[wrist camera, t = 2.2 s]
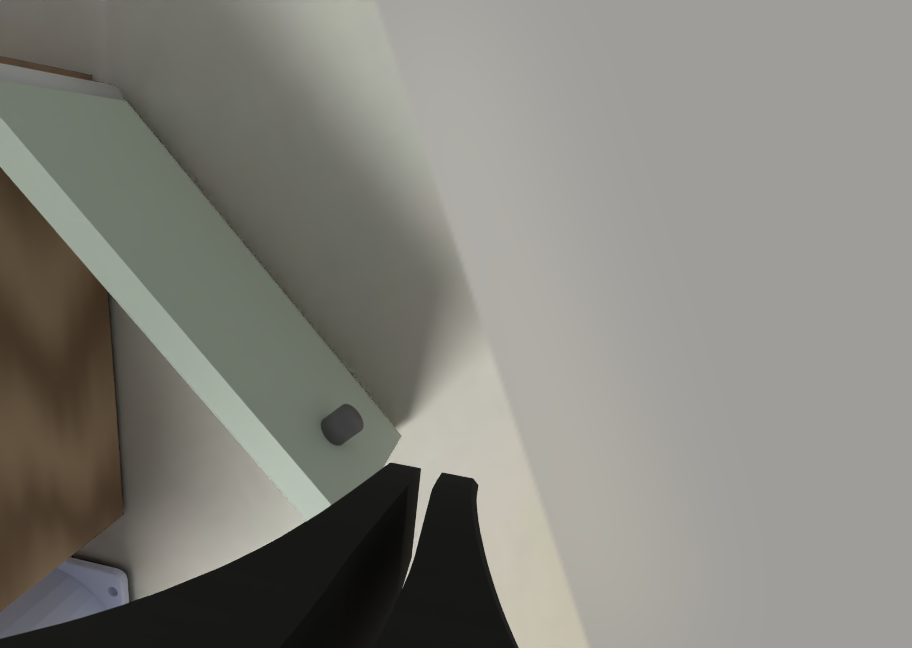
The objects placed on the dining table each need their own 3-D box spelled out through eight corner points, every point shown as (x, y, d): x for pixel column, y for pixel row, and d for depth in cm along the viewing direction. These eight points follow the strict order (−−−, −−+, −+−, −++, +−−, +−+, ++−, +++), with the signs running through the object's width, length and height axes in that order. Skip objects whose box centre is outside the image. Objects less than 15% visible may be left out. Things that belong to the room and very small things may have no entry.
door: (89, 99, 19) (-84, 72, 14) (122, 60, 19) (-47, 17, 13) (381, 449, 21) (322, 542, 16) (418, 424, 20) (371, 511, 15)
